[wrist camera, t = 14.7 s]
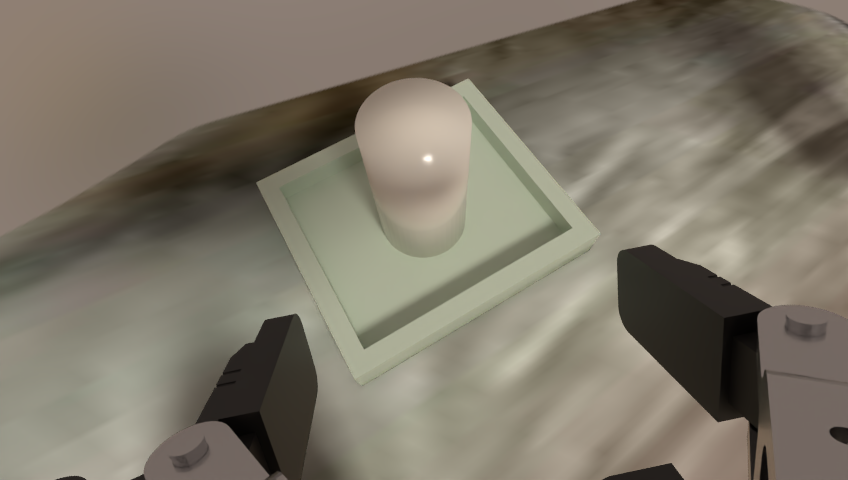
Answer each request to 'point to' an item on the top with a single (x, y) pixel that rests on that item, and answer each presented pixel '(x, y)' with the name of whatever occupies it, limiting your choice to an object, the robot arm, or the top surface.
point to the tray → (411, 276)
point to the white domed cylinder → (417, 162)
